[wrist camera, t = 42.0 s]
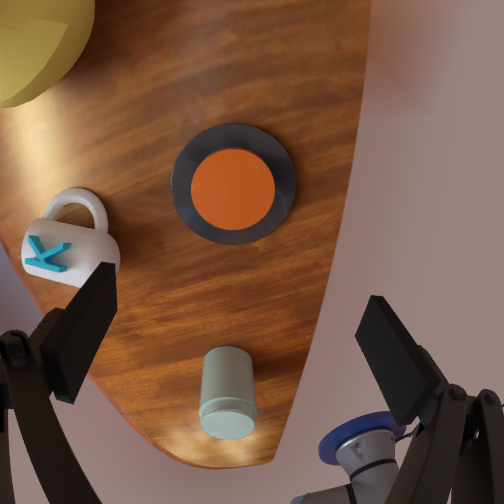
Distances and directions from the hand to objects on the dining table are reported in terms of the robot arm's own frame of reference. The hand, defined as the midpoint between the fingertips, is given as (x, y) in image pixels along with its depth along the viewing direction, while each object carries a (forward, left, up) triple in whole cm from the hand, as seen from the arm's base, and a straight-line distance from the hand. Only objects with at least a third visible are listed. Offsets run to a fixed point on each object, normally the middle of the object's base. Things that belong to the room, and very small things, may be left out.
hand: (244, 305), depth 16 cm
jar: (-2, +26, -23) cm, 35 cm away
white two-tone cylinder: (+19, +7, -23) cm, 30 cm away
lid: (+1, -1, -20) cm, 20 cm away
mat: (+1, -1, -23) cm, 23 cm away
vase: (+27, -18, -23) cm, 39 cm away
